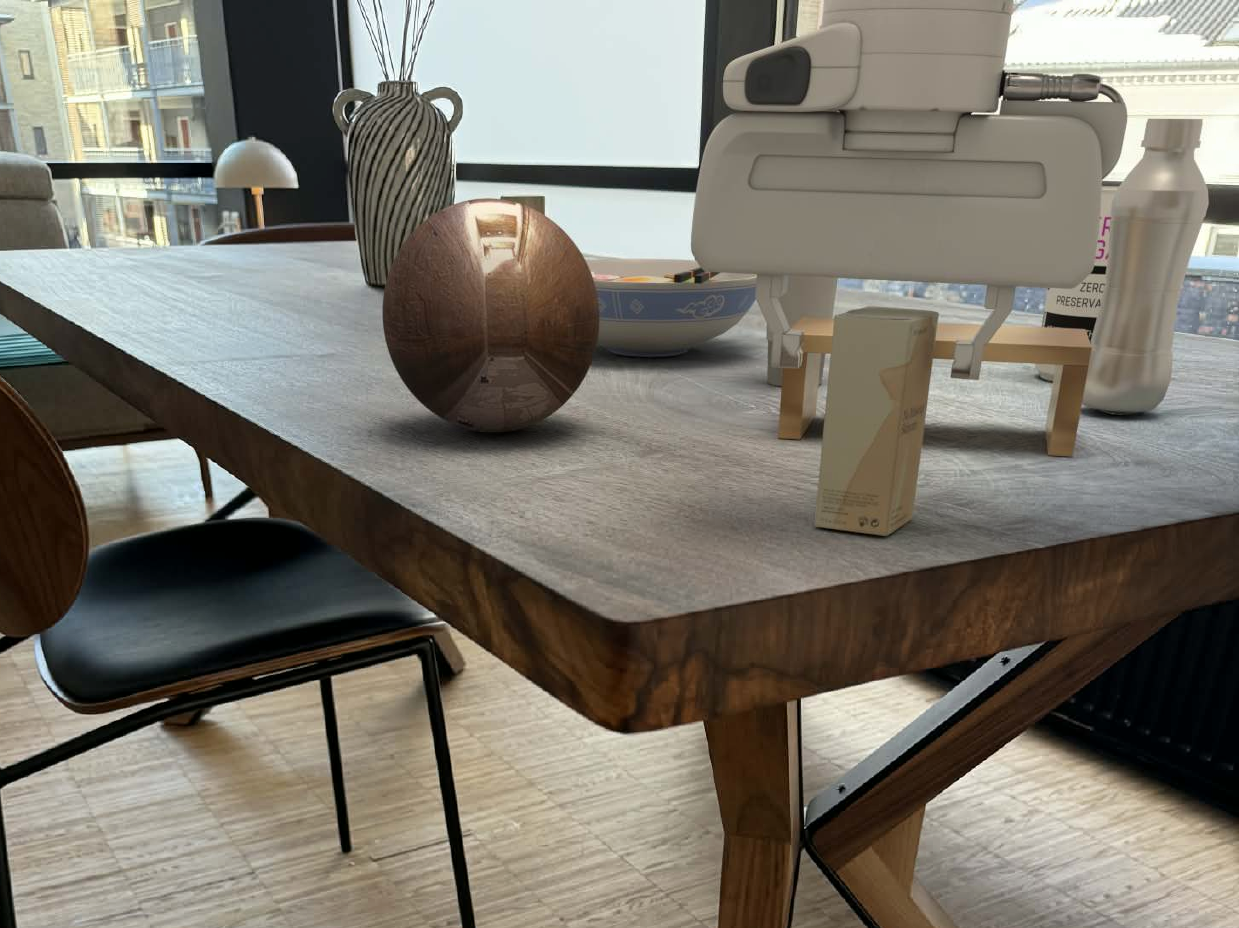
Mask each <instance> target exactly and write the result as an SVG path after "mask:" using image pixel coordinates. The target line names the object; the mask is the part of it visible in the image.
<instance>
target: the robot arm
mask: <svg viewBox="0 0 1239 928" xmlns="http://www.w3.org/2000/svg"><path fill="white" fill-rule="evenodd" d="M1014 1H1015V0H823V4H822V5H823V7H822V14H821V15H822V16H821V24H820V25H819V27H818V29H817V30H814V31H811V32H808V33H806V34H803V35H800V36H792V37H788V38H786V39H784V40H781V41H780V43H777V44H774V45H772V46H768V47H765V48H762V49H758V50H756V51H754V52H751V53H747V54H744V55H742V56H739V57H737V58H735V59H734V60H732V61H730V62H729V63H728V64H727V66H726V67H725V69H724V73H723V79H722V81H723V82H722V94H723V95H722V96H723V100H724V103H725V105H726V106H727V107H729V108H730V109H732V110H734V111H735V110H736V111H737V112H735V113H731V114H730V115H728V116H726V117H724V118H723V119H722V120H721V121H720V122H718V124H717V125H716V126H715V128H714V129H713V130H712V131H711V134H710V135H709V138H708V139H707V141H706V145H705V147H704V151H703V155H702V159H701V163H700V168H699V172H698V178H697V184H696V189H695V196H694V205H693V210H692V211H693V212H692V221H691V231H690V232H691V233H690V251H691V254H692V256H693V258H694V260H696V261H697V262H698V264H699V265H700V267H701V268H702V269H703V270H704V271H706V272H722V273H742V274H757V280H756V293H755V298H756V300H755V302H757V305H758V306H759V309H760V312H761V314H762V316H763V318H764V320H765V322H766V326H767V325H768V327H769V329H770V331H771V333H773V344H772V356H771V367H776V368H797V369H798V368H799V367H800V366H801V363H802V356H803V351H802V350H801V348H800V347H801V346H802V345H803V344H804V334H805V331H804V330H791V329H790V327H789V325H788V322H787V320H786V318H785V315H784V313H783V310H782V308H781V306H780V303H779V301H778V298H780V297H782V296H783V295H784V294H785V293H787V287H788V276H806V277H827V278H838V279H848V280H849V279H850V280H851V279H852V280H870V281H871V280H872V281H893V282H911V283H913V282H915V283H936V284H956V285H976V286H977V285H978V286H986V292H985V297H984V309H986V310H992V311H991V312H990V313H989V315H988V317H987V318H986V319H985V320H984V322H983V323H982V324H981V325H982V326H981V328H980V329H979V330H978V332H977V333H976V334H975V336H974V337H973V339H972V340H966V339H957V340H956V343H955V349H954V356H953V357H954V359H955V360H952V361H953V362H952V365H951V371H950V379H956V380H957V379H958V380H967V381H969V380H970V381H979V379H980V375H981V368H982V362H983V361H982V356H983V349H984V345H987V344H988V342H989V341H990V340H991V338H992V337H993V336H994V334H995V333H996V332H997V330H998V329H999V328H1000V326H1003V324H1004V322H1005V321H1006V320H1007V318H1008V317H1009V316H1010V314H1011V313H1012V311H1013V305H1014V300H1015V294H1016V287H1021V288H1038V289H1039V288H1040V289H1048V288H1059V289H1072V288H1075V287H1077V286H1078V285H1079V284H1080V283H1081V282H1082V281H1083V280H1084V279H1086V278H1087V277H1088V276H1089V274H1090V273H1091V272H1092V270H1093V268H1094V263H1095V257H1096V250H1097V243H1098V234H1099V225H1100V212H1101V194H1102V186H1103V180H1104V179H1106V178H1107V177H1108V176H1109V175H1110V174H1111V173H1112V172H1113V170H1114V169H1115V168H1116V166H1117V165H1118V162H1119V160H1120V158H1121V154H1122V151H1123V146H1124V140H1125V135H1126V130H1127V125H1128V109H1127V105H1126V103H1125V100H1124V97H1123V96H1122V95H1121V94H1120V92H1119V91H1118V90H1116V89H1115V88H1114V87H1112V86H1110V85H1108V84H1106V83H1102V77H1101V75H1097V74H1091V73H1073V74H1072V75H1055V74H1048V73H1045V74H1044V73H1041V72H1040V73H1039V72H1005V71H1006V70H1005V63H1006V57H1007V51H1008V42H1009V38H1010V37H1009V36H1010V30H1011V22H1012V15H1013V10H1014ZM1099 94H1100V95H1103V96H1105V97H1107V98H1108V99H1110V101H1095V100H1097V99H1098V98H1099ZM1001 98H1002V99H1001ZM1058 99H1059V100H1058ZM1000 100H1001V101H1000ZM1063 100H1064V101H1063ZM1065 100H1067V101H1065ZM999 101H1000V102H999ZM999 104H1000V108H999ZM998 110H999V112H998ZM996 112H998V113H999V114H995V113H996Z"/></svg>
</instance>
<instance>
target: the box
mask: <svg viewBox="0 0 1239 928" xmlns="http://www.w3.org/2000/svg"><path fill="white" fill-rule="evenodd" d="M939 315H940V313H939V312H938V311H935V310H927V309H916V308H902V307H889V306H877V305H869V306H867V305H866V306H864V307H860V308H856V309H855V308H854V309H850V310H848V311H846V312H843V313H839V314H835V315H834V317H833V319H834V326H833V337H832V346H831V354H830V357H829V367H828V369H829V370H828V377H827V388H826V397H825V409H824V419H823V420H824V421H823V428H822V429H823V430H822V439H821V441H822V442H821V450H820V462H819V470H818V471H819V473H818V485H817V493H816V505H815V514H814V515H815V516H814V523H813V524H814V527H815V528H816V527H817V528H825V529H829V530H830V529H832V530H837V531H845V532H852V533H853V532H854V533H858V534H867V535H874V536H882V537H886V536H889V535H891V534H892V533H894V532H895V531H896V530H898V529H899V528H901V527H903V526H904V525H906V524H907V523H909V522H910V521H911V520H912V519H913V515H914V507H915V500H916V493H917V485H918V478H919V471H920V464H921V457H922V447H923V441H924V432H925V422H926V417H927V408H928V401H929V395H930V394H929V392H930V384H931V378H932V369H933V363H934V361H933V360H934V359H933V355H934V346H935V339H936V331H937V323H939Z"/></svg>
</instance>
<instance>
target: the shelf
mask: <svg viewBox="0 0 1239 928" xmlns="http://www.w3.org/2000/svg"><path fill="white" fill-rule="evenodd" d="M982 325H983V324H976V323H975V324H972V323H952V322H951V323H947V322H938V323H937V331H936V339H935V346H934V355H933V360H951V361H954V360H955V359H954V357H953V356H954V349H955V343H956V340H957V339H966V340H972V339H973V337H974V336H975V334H976V333H977V332H978V330H979V329H980V328H981V326H982ZM833 326H834V317H832V318H809V317H803V318H802V319H801V320H800V321H799V322H798V323H796V324H795V325H794V326H793V327H792V328H791V330H804V331H805V334H804V344H803V345H802V346H801V347H800V348H801V350H802V351H803V356H802V363H801V366H800V367H799V368H798V369H797V368H783V375H782V386H781V391H780V402H779V403H780V404H779V417H778V430H777V439H782V440H783V439H785V440H799V441H800V440H801V439H802V437H803V436H804V434H805V433H806V431H807V430H808V429H809V427H810V425H811V424H812V422H813V421H814V419H815V418H816V416H817V406H818V405H817V404H818V396H819V395H818V394H819V385H818V383H819V372H820V360H821V353H823V354H825V355H831V346H832V337H833ZM1091 351H1092V346H1091V343H1090V341H1089V338H1088V335H1087V332H1086V330H1085V329H1071V328H1047V327H1041V326H1024V325H1023V326H1021V325H1018V326H1017V325H1001V326H1000V328H999V329H998V330H997V332H996V333H995V334H994V336H993V337H992V338H991V340H990V341H989V342H988V344H987V345H984V349H983V356H982V362H993V363H1010V364H1011V363H1013V364H1034V365H1035V364H1053V365H1056V367H1055V373H1054V379H1053V381H1052V385H1051V392H1050V397H1049V404H1048V410H1047V415H1046V420H1045V428H1044V432H1045V441H1046V449H1047V456H1053V457H1069V458H1072V457H1073V456H1074V450H1075V445H1076V439H1077V435H1078V428H1079V423H1080V418H1081V411H1082V406H1083V404H1082V401H1083V395H1084V390H1085V384H1086V379H1087V373H1088V368H1089V367H1088V366H1089V362H1090V356H1091Z"/></svg>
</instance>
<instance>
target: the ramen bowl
mask: <svg viewBox="0 0 1239 928" xmlns="http://www.w3.org/2000/svg"><path fill="white" fill-rule="evenodd" d="M585 261H586V263H587V265H588V267H589V269H590V272H591V274H592V277H593V280H594V283H595V287H596V291H597V296H598V302H599V315H600V323H599V335H598V341H597V344H598V345H601V346H604V348H605V349H606V350H607V351H608V352H610V353H612V354H615V355H619V356H625V357H637V358H663V357H664V358H665V357H673V356H679V355H683V354H685V353H686V352H688V351H689V350H690V348H693V347H694V346H698V345H700V344H702V343H706V342H708V341H710V340H713V339H715V338H717V337H719V336H721V335H724V334H725V333H726V332H728V331H729V330H730V329H732V328H734V327H735V326H736V325H737V324H739V322H740V321H741V320H742V319H743V318H744V316H745V315H747V313H748V312H749V311H750V309H751V308H752V306H753V304H754V303H755V302H756V298H755V293H756V280H757V274H742V273H722V272H706V271H704V270H703V269H702V268H701V267H700V265H699V264H698V262H697V261H696V259H681V258H679V259H677V258H595V259H585Z"/></svg>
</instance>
